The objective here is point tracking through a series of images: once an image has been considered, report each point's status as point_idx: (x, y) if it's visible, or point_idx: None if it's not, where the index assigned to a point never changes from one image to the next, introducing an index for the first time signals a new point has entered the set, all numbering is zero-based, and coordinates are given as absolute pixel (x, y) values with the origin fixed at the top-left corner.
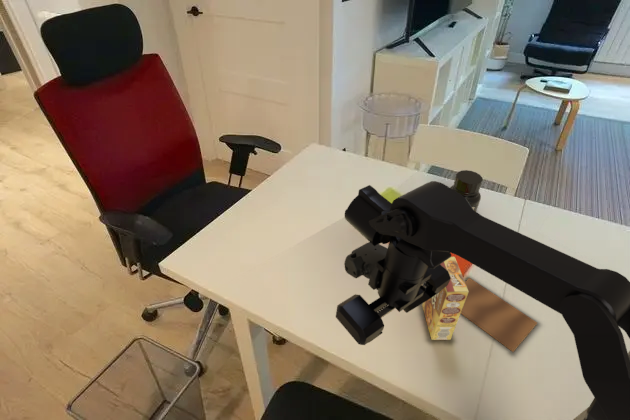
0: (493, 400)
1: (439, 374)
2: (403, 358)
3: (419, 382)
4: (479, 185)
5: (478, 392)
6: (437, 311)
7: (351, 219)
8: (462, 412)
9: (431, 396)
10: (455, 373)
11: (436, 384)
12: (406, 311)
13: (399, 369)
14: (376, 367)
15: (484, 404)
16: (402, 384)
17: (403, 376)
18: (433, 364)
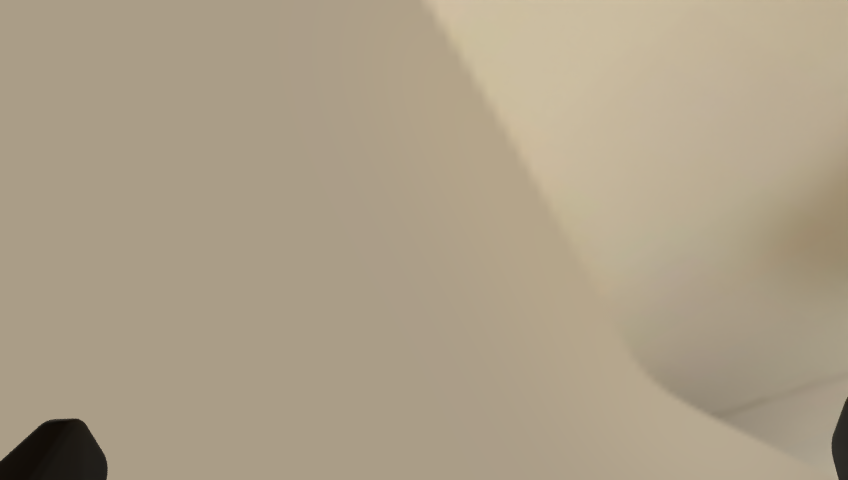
0: (835, 420)
1: (759, 234)
2: (674, 55)
3: (625, 210)
4: None
5: (821, 374)
6: None
7: None
8: (671, 388)
9: (615, 285)
10: (834, 271)
11: (693, 260)
12: (841, 468)
13: (591, 98)
14: (471, 9)
15: (785, 412)
16: (534, 172)
17: (576, 142)
18: (790, 179)
